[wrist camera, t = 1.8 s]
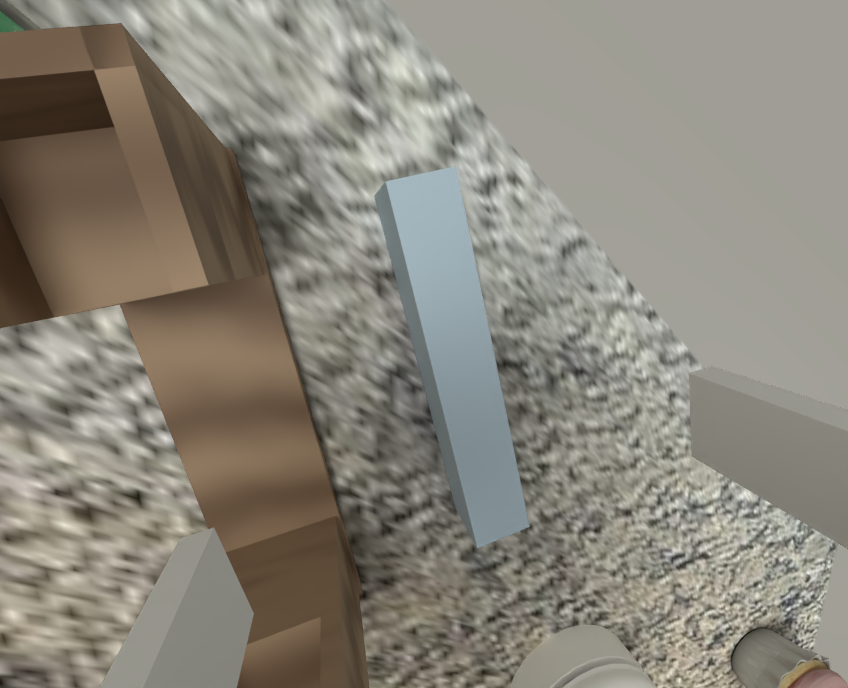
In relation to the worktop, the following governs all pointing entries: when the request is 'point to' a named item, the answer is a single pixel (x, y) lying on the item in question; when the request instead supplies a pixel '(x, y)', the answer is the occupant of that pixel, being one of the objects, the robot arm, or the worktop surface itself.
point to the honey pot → (581, 662)
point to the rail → (454, 348)
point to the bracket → (180, 321)
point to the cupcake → (781, 664)
